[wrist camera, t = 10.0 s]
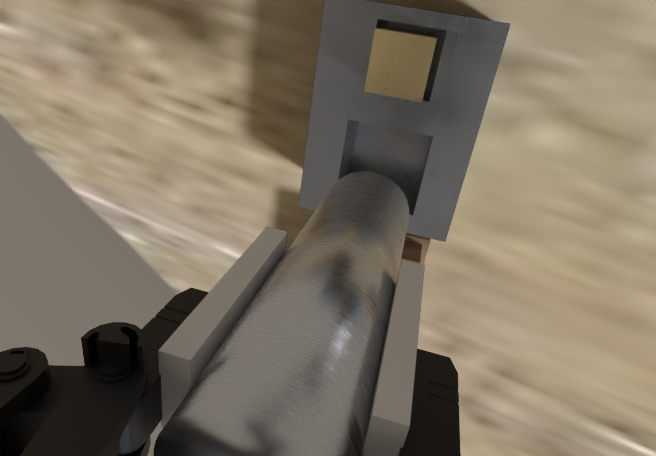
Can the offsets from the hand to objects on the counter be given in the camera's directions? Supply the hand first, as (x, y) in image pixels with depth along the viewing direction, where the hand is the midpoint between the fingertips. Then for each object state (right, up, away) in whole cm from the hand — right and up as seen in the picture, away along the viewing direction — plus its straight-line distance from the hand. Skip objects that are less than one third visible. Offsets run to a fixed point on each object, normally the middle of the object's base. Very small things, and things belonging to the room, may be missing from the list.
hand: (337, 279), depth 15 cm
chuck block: (+5, +10, +17) cm, 20 cm away
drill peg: (+1, +3, +5) cm, 6 cm away
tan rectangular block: (+5, +13, +13) cm, 19 cm away
